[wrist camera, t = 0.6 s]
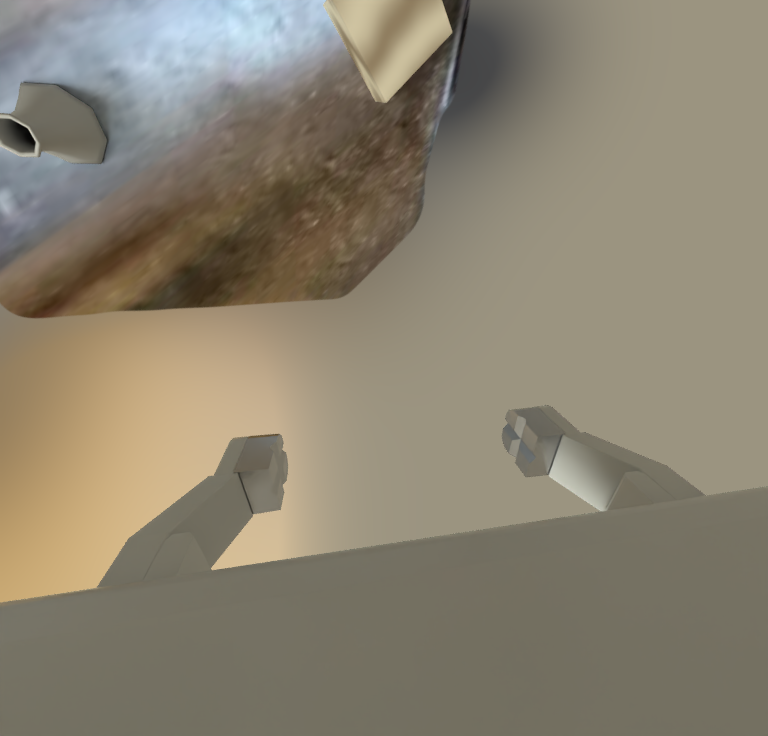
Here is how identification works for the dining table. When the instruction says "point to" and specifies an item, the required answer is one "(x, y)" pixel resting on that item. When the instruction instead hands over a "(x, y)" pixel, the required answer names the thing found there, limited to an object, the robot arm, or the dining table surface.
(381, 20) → the birch block
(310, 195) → the dining table surface
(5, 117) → the flask
